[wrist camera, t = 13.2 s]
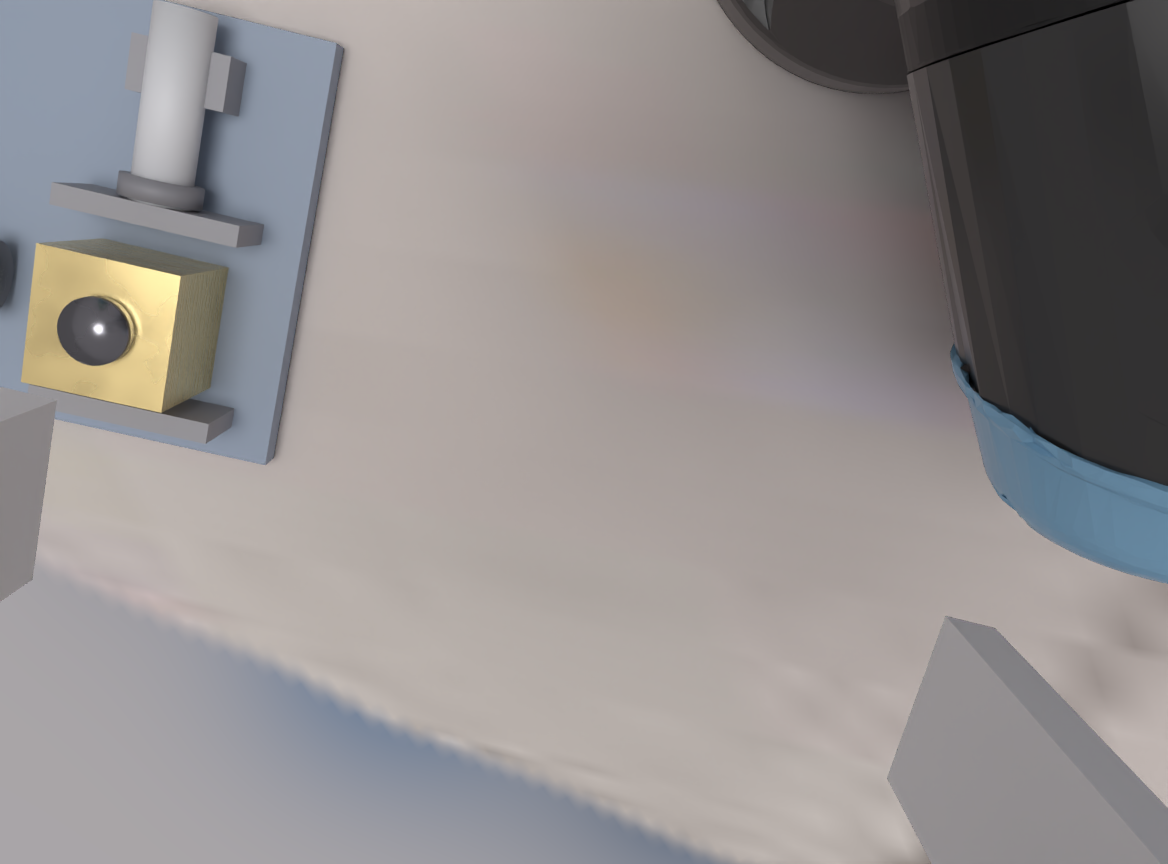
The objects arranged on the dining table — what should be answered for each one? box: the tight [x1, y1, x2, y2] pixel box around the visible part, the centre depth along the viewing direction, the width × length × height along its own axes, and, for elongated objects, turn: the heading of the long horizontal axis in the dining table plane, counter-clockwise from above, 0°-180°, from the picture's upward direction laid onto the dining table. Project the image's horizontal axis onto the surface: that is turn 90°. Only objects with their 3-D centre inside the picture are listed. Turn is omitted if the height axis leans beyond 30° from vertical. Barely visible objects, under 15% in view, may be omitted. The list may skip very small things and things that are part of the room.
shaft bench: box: [0, 0, 344, 465], centre depth 38 cm, size 17×16×4 cm
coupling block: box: [21, 238, 229, 413], centre depth 37 cm, size 5×5×6 cm
